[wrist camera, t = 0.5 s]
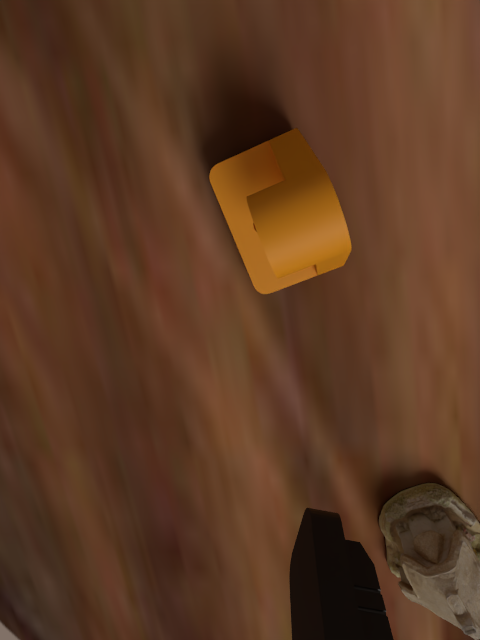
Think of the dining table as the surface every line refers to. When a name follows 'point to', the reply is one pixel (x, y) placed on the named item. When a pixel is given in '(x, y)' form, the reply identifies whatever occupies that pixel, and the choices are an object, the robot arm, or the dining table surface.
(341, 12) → the dining table surface
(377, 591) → the robot arm
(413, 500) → the ceramic model
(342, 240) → the bracket
